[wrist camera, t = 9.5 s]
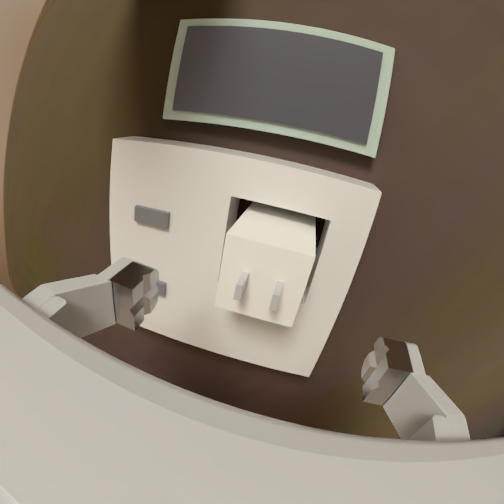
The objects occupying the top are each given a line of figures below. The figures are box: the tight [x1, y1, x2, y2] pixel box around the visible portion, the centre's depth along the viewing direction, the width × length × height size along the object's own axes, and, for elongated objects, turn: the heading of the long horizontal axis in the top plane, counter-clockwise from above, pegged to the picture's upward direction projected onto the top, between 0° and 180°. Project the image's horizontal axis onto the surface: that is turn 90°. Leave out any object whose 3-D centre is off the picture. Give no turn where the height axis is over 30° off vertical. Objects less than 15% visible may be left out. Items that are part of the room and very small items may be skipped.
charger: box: [215, 201, 316, 328], centre depth 15 cm, size 4×4×7 cm
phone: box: [162, 18, 395, 158], centre depth 14 cm, size 13×7×2 cm, turn 80°
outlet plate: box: [110, 136, 382, 377], centre depth 19 cm, size 16×14×3 cm
